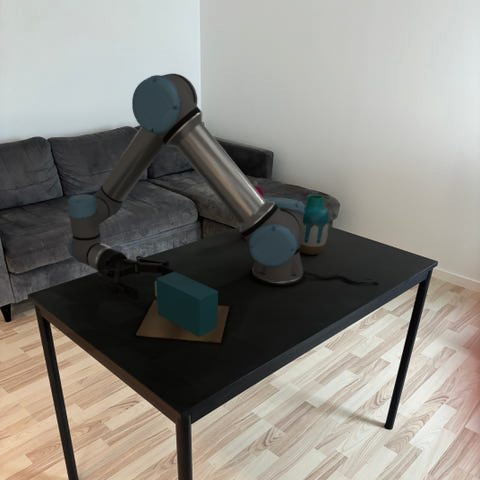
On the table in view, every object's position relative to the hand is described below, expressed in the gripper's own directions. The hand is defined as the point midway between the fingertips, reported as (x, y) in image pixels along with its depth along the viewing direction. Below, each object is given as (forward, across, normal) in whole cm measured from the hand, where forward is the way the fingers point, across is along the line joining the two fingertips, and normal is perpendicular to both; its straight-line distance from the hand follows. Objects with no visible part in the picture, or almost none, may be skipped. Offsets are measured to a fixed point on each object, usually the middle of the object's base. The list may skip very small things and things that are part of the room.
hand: (158, 285), depth 121 cm
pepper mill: (-17, -57, -7) cm, 59 cm away
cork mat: (+10, 0, -6) cm, 11 cm away
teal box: (+9, 0, -6) cm, 11 cm away
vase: (+5, -60, -7) cm, 61 cm away
